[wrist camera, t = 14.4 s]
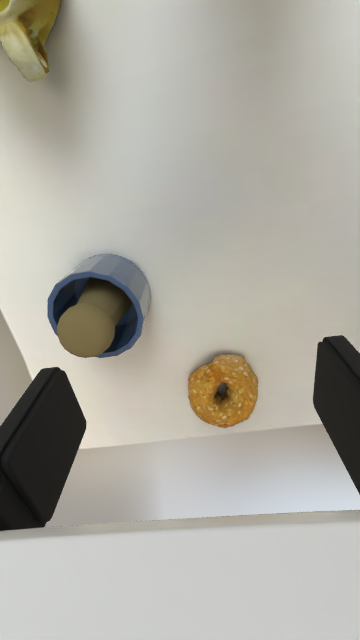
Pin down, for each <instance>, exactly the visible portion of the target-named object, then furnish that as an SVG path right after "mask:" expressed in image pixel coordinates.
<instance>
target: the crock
mask: <svg viewBox="0 0 360 640" xmlns="http://www.w3.org/2000/svg"><path fill="white" fill-rule="evenodd" d="M90 277H93V278H98V279H102V280H107V281H109V282H111V283H113V284H114V285H116V286H117V287H119V288H121V289H122V290H124V292H125V293H126V294H127V296H128V297H129V298H130V299H131V301H132V302H133V304H132V306H131V308H130V309H129V310H128V311H127V313H126V314H125V315H124V316H123V318H122V319H121V320H120V321H119V322H118V324H117V325H116V326H115V334H114V339H113V341H112V343H111V345H110V347H109V348H108V349H106V350H105V351H104V352H103V353H102V354H100V355H97V356H95V357H98V358H103V357H111V356H117V355H119V354H121V353H123V352H125V351H126V350H128V349H130V348H131V347H132V346H133V345H134V344H135V342H136V341H137V340H138V338H139V337H140V335H141V333H142V329H143V326H144V322H145V318H146V315H147V311H148V307H149V302H150V288H149V284H148V281H147V279H146V277H145V276H144V274H143V272H142V271H141V270H140V269H139V268H138V267H137V266H136V265H135V264H134V263H132V262H131V261H129V260H127V259H126V258H123V257H121V256H117V255H112V254H100V255H96V256H93V257H90V258H88V259H87V260H85V261H84V262H82V263H81V264H80V265H78V266H77V267H76V268H74V269H73V270H72V271H71V272H70V273H69V274H67V275H66V276H65V277H64V278H63V279H62V280H60V281H59V282H58V283H57V284H56V285H55V287H54V288H53V290H52V292H51V294H50V296H49V298H48V319H49V321H50V323H51V326H52V328H53V330H54V332H55V334H56V335H57V325H58V322H59V320H60V317H61V316H62V315H63V314H64V312H65V311H66V310H67V309H68V308H70V307H73V306H75V305H77V302H78V300H79V298H80V296H81V294H82V292H83V290H84V288H85V285H86V283H87V281H88V279H89V278H90ZM57 336H58V335H57Z"/></svg>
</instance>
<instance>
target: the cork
mask: <svg viewBox="0 0 360 640" xmlns="http://www.w3.org/2000/svg"><path fill="white" fill-rule="evenodd" d="M132 304H133V302H132V301H131V299H130V298H129V297H128V296H127V294H126V293H125V292H124V290H122V289H121V288H119V287H117V286H116V285H114V284H113V283H111V282H109V281H107V280H102V279H98V278H93V277H90V278H89V279H88V281H87V283H86V285H85V288H84V290H83V292H82V294H81V296H80V298H79V300H78V302H77V305H75V306H73V307H70V308H68V309H67V310H66V311H65V312H64V314H63V315H62V316H61V317H60V320H59V322H58V325H57V335H58V338H59V340H60V343H61V344H62V346H63V347H64V348H65V349H66V350H67V351H68V352H70V353H71V354H73V355H76V356H78V357H84V358H87V357H95V356H97V355H100V354H102V353H103V352H104V351H105V350H106V349H108V348H109V347H110V345H111V343H112V341H113V339H114V334H115V326H116V325H117V324H118V322H119V321H120V320H121V319H122V318H123V316H124V315H125V314H126V313H127V311H128V310H129V309H130V308H131V306H132Z"/></svg>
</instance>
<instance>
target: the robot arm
mask: <svg viewBox="0 0 360 640" xmlns="http://www.w3.org/2000/svg"><path fill="white" fill-rule="evenodd" d="M313 403H314V407H315V409H316V411H317V413H318V415H319V417H320V419H321V421H322V423H323V425H324V427H325V429H326V431H327V433H328V434H329V436H330V438H331V440H332V442H333V444H334V446H335V448H336V450H337V452H338V454H339V456H340V457H341V459H342V461H343V463H344V465H345V467H346V469H347V471H348V473H349V475H350V476H351V479H352V480H353V482H354V484H355V486H356V488H357V490H358V492H359V494H360V353H359V352H358V351H357V350H356V349H355V348H354V347H353V346H352V345H351V344H350V342H349V341H348V340H347V339H346V338H345V337H344V336H342V335H340V336H331V337H325V338H324V339H323V342H319V343H318V348H317V360H316V371H315V382H314V394H313ZM85 430H86V420H85V417H84V415H83V413H82V410H81V408H80V405H79V403H78V401H77V398H76V396H75V394H74V391H73V389H72V387H71V384H70V382H69V380H68V377H67V375H66V373H65V371H63V370H61V369H60V368H59V367H53V368H44V369H41V370H40V372H39V373H38V374H37V376H36V377H35V379H34V380H33V381H32V383H31V384H30V386H29V387H28V389H27V390H26V391H25V393H24V394H23V395H22V397H21V398H20V400H19V401H18V402H17V404H16V405H15V407H14V408H13V410H12V411H11V412H10V414H9V415H8V417H7V418H6V419H5V421H4V422H3V424H2V425H1V426H0V640H360V510H343V511H315V512H297V513H278V514H258V515H239V516H221V517H205V518H187V519H169V520H152V521H135V522H119V523H104V524H88V525H72V526H58V527H45V524H46V522H48V521H50V519H51V518H52V516H53V513H54V511H55V508H56V505H57V503H58V500H59V498H60V495H61V492H62V490H63V487H64V485H65V482H66V479H67V477H68V474H69V472H70V469H71V467H72V464H73V461H74V459H75V456H76V453H77V451H78V448H79V446H80V443H81V440H82V438H83V435H84V433H85Z"/></svg>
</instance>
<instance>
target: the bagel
mask: <svg viewBox="0 0 360 640" xmlns="http://www.w3.org/2000/svg"><path fill="white" fill-rule="evenodd" d="M188 381H189V385H188V390H189V396H188V398H189V400H190V406H191V408H192V409H193V411H194V412H195V413H196V415H197V416H198V417H199V418H200V419H201V420H203V421H204V422H206V423H208V424H212V425H214V426H218V427H222V428H227V427H229V426H234V425H235V424H238V423H240V422H242V421H244V420H246V419H248V418H249V417H250V414H251V413H252V411H253V409H254V406H255V403H256V401H257V396H258V394H257V393H258V389H257V388H258V378H257V376H256V375H255V374H254V373H253V371H252V369H251V367H250V366H249V364H248V363H247V361H246V360H245V358H244V357H243V356H240V355H232V354H230V355H228V354H225V355H222V354H221V355H218V356H217V357H216V358H215V359H214V360H213V361H212V362H211V363H210V364H206V365H203V366H200V367H199V369H198V370H196V371H195V372H194V373H192V374H191V376H190V377H189V379H188ZM222 382H224V383H225V384H226V386H227V387H226V391H225V392H224V393H223V395H219V394H217V395H215V394H216V393H217V390H218V386H219V385H220V384H221V383H222Z"/></svg>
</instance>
